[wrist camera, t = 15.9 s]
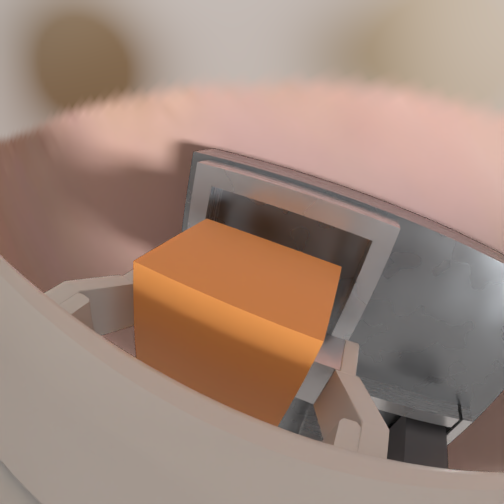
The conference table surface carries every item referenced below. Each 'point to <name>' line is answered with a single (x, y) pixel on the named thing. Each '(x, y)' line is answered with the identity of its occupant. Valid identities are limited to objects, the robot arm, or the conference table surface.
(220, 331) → the orange block
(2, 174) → the conference table surface
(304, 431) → the panel
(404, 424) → the block
